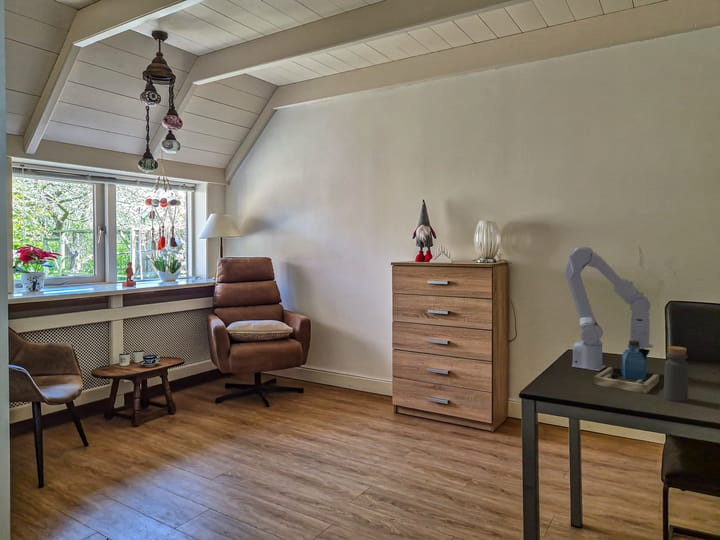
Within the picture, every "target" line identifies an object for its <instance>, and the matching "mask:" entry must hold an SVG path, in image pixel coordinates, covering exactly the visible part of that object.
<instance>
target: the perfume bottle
mask: <svg viewBox="0 0 720 540" xmlns="http://www.w3.org/2000/svg"><path fill="white" fill-rule="evenodd" d="M637 347H638V349H640V345H639V341H630V340H628V345H627V348H628V349H625V350H624V352H623V353H622V354H621V363H620V364H621V366H620V372H621V373H620V374H621V375H622V376H623V378H624V379H628V380H629V379H631V380H639V379H642V380H644V381H645V380H646V379H647V377H646V375H647V360H645V358H644V356H643V354H642V353H641V352H640V351H639V350H638V353H637V352H635V349H637ZM646 381H647V380H646Z"/></svg>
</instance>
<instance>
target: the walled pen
mask: <svg viewBox="0 0 720 540" xmlns="http://www.w3.org/2000/svg"><path fill="white" fill-rule="evenodd" d="M613 375H614V368H613V367H611V366H609V367H607V368H606V369H604V370H603V371H601V372H599V373H597V374H596V375H595V376H593V385H595V386H601V387H606V388H611V389H618V390H624V391H629V392H636V393H641V394H648V393H649V392H650V391H651V390H652V389H653V388H654V387H655V386H656V385H657V384H658V383H659V381H660V380H659V379H660V374H657V373H654V374H652V375H651V377H650V378H648V379H647V380H646V381H645V382H643V379H636V381H635V382H632V381H626V380H620V379H615V378H612V376H613Z"/></svg>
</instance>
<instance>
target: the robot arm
mask: <svg viewBox="0 0 720 540" xmlns="http://www.w3.org/2000/svg"><path fill="white" fill-rule="evenodd" d="M586 266H588V267H591V268H595V269H596V270H598V271H599V272H600V273H601V274H602V275H603V276H604V277H605V278H606V279H607V280H608V281H609V282H610V283H612V285H613V291H614V292H615V293H616V294H617V295H618V296H619V297H620V298H621V299H622V300H623V301H624V303H626V304H628V305H629V309H630V310H631V317H630V333H629V334H630V337H629V339H630V340H629V341H639V345H640V349H638V347H637V349H635V352H637V353H638V350H639V351H640V352H641V353H642V354H643V356H644V358H645V360H646V359H647V357H648V355H649V353H650V352H651V351H650V349H648V348H653V347H654V345H653V344H650V329H651V328H650V327H651V326H650V323H651V320H650V316H651V315H650V314H651V313H650V309H651V301H650V300H649V298H648V297H647V296H646V295H644V292H642V291H639V289H638V288H637V287H636V286H635V285H634V282H633V281H632V280H629V279H628V278H621V277H620V276H619V275H618V273H617V272H616V271H615V270H614V269H613V268H612V267H611V266H610V265H609V264H608V263H607V262H606V261H605V260H604V259H603V257H601V256H600V255H599V253H596V252H595V251H594V250H593V249H592V248H591V247H588V246H579V247H576V248H575V249H574V250H573V251H571V253H570V255H569V256H568V261H567V264H566V267H565V272H564V275H565V279H566V281H567V284H568V286H569V290H570V293H571V297H572V299H573V303H574V306H575V310H576V312H577V315H578V319H579V326H580V336H579V337H580V339H581V340H580V341H575V342H574V344H573V346H572V347H573V348H572V365H571V368H578V369H584V370H585V369H586V370H591V371H597V372H600V371H601V370H603V369H604V368H606V366H607V365H603V342H602V340H601V338H602V337H603V334H604V332H603V328H602V327H601V325H599V323H598V321H597V318H596V317H595V316H594V312H593V310H592V306H591V304H590V300H589V297H588V294H587V291H586V288H585V285H584V281H583V279H582V276H581V273H582V272H583V271H584V270H585V267H586ZM646 361H647V360H646Z"/></svg>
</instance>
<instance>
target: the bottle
mask: <svg viewBox="0 0 720 540" xmlns="http://www.w3.org/2000/svg"><path fill="white" fill-rule="evenodd" d="M686 353H687V348H686V347H684V346H683V347H682V346H677V345H675V346H674V345H673V346H672V345H671V346H670V345H669V346H667V352H666V353H665V355H666V357H667V358H668V359H667V360H666V361H664V373H663V374H664V375H663V376H664V377H663V398H664V399H665V400H668V401H673V402H679V403H683V402H687V401H688V398H689V397H688V396H689V365H690V364H689V363H688V362H687V361H686V359H688V354H686Z"/></svg>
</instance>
